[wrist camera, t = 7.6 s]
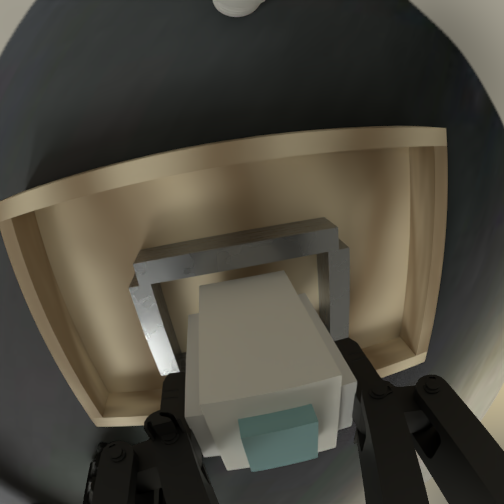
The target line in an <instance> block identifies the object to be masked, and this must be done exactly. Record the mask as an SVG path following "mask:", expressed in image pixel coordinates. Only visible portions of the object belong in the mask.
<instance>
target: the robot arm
mask: <svg viewBox="0 0 504 504" xmlns="http://www.w3.org/2000/svg"><path fill="white" fill-rule="evenodd" d="M298 296H299V298H300V300H301V301H302V303H303V305H304V307H305V309H306V310H307V312H308V314H309V316H310V318H311V319H312V321H313V323H314V325H315V327H316V328H317V330H318V332H319V334H320V336H321V337H322V339H323V341H324V343H325V345H326V347H327V348H328V350H329V352H330V354H331V356H332V358H333V359H334V361H335V363H336V365H337V367H338V369H339V370H340V372H341V374H342V382H341V397H340V409H339V421H338V430H340V429H343V428H347V427H350V426H352V419H353V420H354V422H355V424H356V432H355V438H354V444H355V443H357V445H358V451H359V458H360V464H361V471H362V478H363V485H364V492H365V500H366V504H429V501H428V497H427V493H426V489H425V485H424V481H423V477H422V473H421V469H420V466H419V462H418V458H417V455H416V451H417V453H418V454H419V456H420V458H421V459H422V461H423V462H424V464H425V466H426V467H427V469H428V471H429V472H430V474H431V475H432V477H433V479H434V480H435V482H436V484H437V485H438V487H439V488H440V490H441V492H442V493H443V495H444V497H445V498H446V500H447V502H448V503H449V504H504V451H503V450H502V449H501V447H500V446H499V445H498V443H497V442H496V441H495V440H494V438H493V437H492V436H491V435H490V433H489V432H488V431H487V430H486V428H485V427H484V426H483V425H482V424H481V422H480V421H479V420H478V419H477V417H476V416H475V415H474V414H473V413H472V411H471V410H470V409H469V408H468V407H467V405H466V404H465V403H464V402H463V401H462V399H461V398H460V397H459V396H458V395H457V394H456V392H455V391H454V390H453V389H452V388H451V387H450V385H449V384H448V383H447V382H446V381H445V380H444V379H443V378H441V377H439V376H437V375H426V376H423V377H422V378H420V379H419V380H418V382H417V383H416V386H406V387H396V386H393V385H392V384H391V383H390V382H388V381H384V380H382V379H381V377H380V376H379V374H378V373H377V371H376V370H375V368H374V367H373V365H372V364H371V362H370V361H369V359H368V358H367V357H366V355H365V353H364V352H363V351H362V349H361V347H360V346H359V344H358V343H357V342H355V341H354V340H352V339H351V338H349V337H348V338H344V339H340V340H336V341H333V339H332V337H331V336H330V334H329V332H328V330H327V329H326V327H325V325H324V324H323V322H322V320H321V319H320V317H319V315H318V314H317V312H316V310H315V309H314V307H313V305H312V304H311V302H310V300H309V299H308V297H307V295H306V294H305V293H302V294H298ZM144 429H145V431H146V433H147V434H148V436H149V437H150V439H149V440H147V441H144V442H142V443H139V444H136V445H133V446H131V445H130V444H128V443H127V442H124V441H114V442H112V443H110V444H108V445H107V446H106V447H105V448H104V449H103V451H102V453H101V456H100V461H99V466H98V471H97V475H96V481H95V486H94V491H93V497H92V502H91V504H158V502H159V488H161V487H162V490H163V494H164V498H165V501H166V504H219V503H218V500H217V498H216V495H215V493H214V490H213V487H212V485H211V482H210V479H209V477H208V474H207V471H206V469H205V466H204V464H203V462H202V454H203V456H204V457H211V456H219V455H220V453H219V451H218V448H217V446H216V444H215V441H214V439H213V437H212V434H211V432H210V430H209V427H208V425H207V422H206V420H205V417H204V415H203V412H202V410H201V407H200V405H199V313H197V314H191V315H188V331H187V352H186V371H184V372H177V373H169V374H168V375H167V376H166V378H165V380H164V381H163V386H162V395H161V405H160V410H158V411H156V412H153V413H152V414H150V415H149V416H148V417H147V418H146V420H145V422H144ZM415 450H416V451H415ZM201 452H202V453H201Z"/></svg>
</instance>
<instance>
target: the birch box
mask: <svg viewBox="0 0 504 504" xmlns="http://www.w3.org/2000/svg"><path fill="white" fill-rule="evenodd" d="M447 190H448V164H447V137H446V128H438V127H422V126H371V127H348V128H332V129H318V130H306V131H296V132H286V133H277V134H268V135H260V136H253V137H246V138H239V139H232V140H225V141H219V142H213V143H207V144H202V145H196V146H191V147H185V148H180V149H175V150H170V151H166V152H161V153H156V154H152V155H147V156H143V157H139V158H134V159H130V160H126V161H122V162H118V163H114V164H110V165H106V166H103V167H99V168H95V169H92V170H88V171H85V172H81V173H78V174H74V175H71V176H68V177H65V178H61V179H58V180H55V181H52V182H49V183H46V184H43V185H40V186H37V187H34V188H31V189H28V190H25V191H23V192H20V193H18V194H16V195H13V196H11V197H8V198H6V199H4V200H2V201H0V231H1V234H2V237H3V240H4V244H5V247H6V250H7V253H8V256H9V259H10V262H11V264H12V267H13V270H14V273H15V275H16V278H17V280H18V283H19V286H20V288H21V291H22V293H23V295H24V298H25V300H26V303H27V305H28V307H29V309H30V312H31V314H32V316H33V318H34V320H35V323H36V325H37V327H38V329H39V331H40V333H41V335H42V337H43V339H44V341H45V343H46V345H47V347H48V349H49V351H50V352H51V354H52V356H53V358H54V360H55V362H56V363H57V365H58V367H59V369H60V371H61V372H62V374H63V376H64V377H65V379H66V381H67V382H68V384H69V386H70V387H71V389H72V391H73V392H74V394H75V395H76V397H77V399H78V400H79V402H80V403H81V405H82V406H83V408H84V409H85V411H86V412H87V414H88V415H89V417H90V418H91V419H92V421H93V422H94V424H95V425H96V427H113V426H140V425H144V422H145V420H146V418H147V417H148V416H149V415H150V414H152V413H153V412H156V411H158V410H160V405H161V395H162V386H163V381H164V380H165V378H166V376H167V375H164V376H161V374H160V372H159V369H158V367H157V364H156V362H155V360H154V357H153V355H152V352H151V350H150V347H149V344H148V342H147V339H146V337H145V334H144V331H143V329H142V326H141V323H140V320H139V318H138V315H137V312H136V309H135V306H134V303H133V300H132V297H131V294H130V291H129V286H130V283H131V281H132V279H133V277H134V274H135V270H134V267H133V263H134V261H135V259H136V257H137V255H138V253H139V251H140V250H141V249H146V248H152V247H157V246H162V245H167V244H173V243H178V242H183V241H189V240H194V239H200V238H205V237H211V236H216V235H222V234H227V233H233V232H239V231H244V230H250V229H256V228H261V227H267V226H273V225H279V224H285V223H291V222H297V221H303V220H309V219H315V218H321V217H325V218H326V219H328V220H329V221H330V222H332V223H333V224H334V225H336V226H337V227H338V237H339V239H340V240H341V241H342V242H343V243H345V244H346V245H347V246H348V247H349V249H350V307H349V338H351V339H352V340H354V341H355V342H357V343H358V344H359V346H360V347H361V349H362V351H363V352H364V353H365V355H366V357H367V358H368V359H369V361H370V362H371V364H372V365H373V367H374V368H375V370H376V371H377V373H378V374H379V376H380V377H381V378H382V377H385V376H388V375H391V374H394V373H396V372H399V371H402V370H404V369H407V368H410V367H412V366H415V365H417V364H420V363H422V362H425V358H426V354H427V350H428V345H429V341H430V336H431V332H432V327H433V322H434V317H435V311H436V306H437V300H438V293H439V287H440V280H441V272H442V264H443V255H444V245H445V233H446V217H447ZM282 270H284V271H285V273H286V275H287V276H288V278H289V280H290V282H291V283H292V285H293V287H294V289H295V291H296V292H297V294H302V293H305V294H306V295H307V297H308V299H309V300H310V302H311V304H312V305H313V307H314V309H315V310H316V312H317V314H318V315H319V291H318V270H317V254H313V255H308V256H303V257H298V258H292V259H287V260H282V261H276V262H271V263H266V264H260V265H255V266H249V267H244V268H239V269H233V270H228V271H222V272H216V273H211V274H205V275H200V276H194V277H189V278H183V279H177V280H172V281H166V282H160V285H161V288H162V292H163V295H164V298H165V302H166V305H167V308H168V312H169V315H170V318H171V321H172V325H173V328H174V331H175V334H176V337H177V340H178V343H179V346H180V349H181V352H182V353H183V352H187V331H188V315H191V314H197V313H199V286H200V285H206V284H212V283H217V282H223V281H228V280H234V279H239V278H245V277H250V276H256V275H261V274H266V273H272V272H277V271H282Z"/></svg>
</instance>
